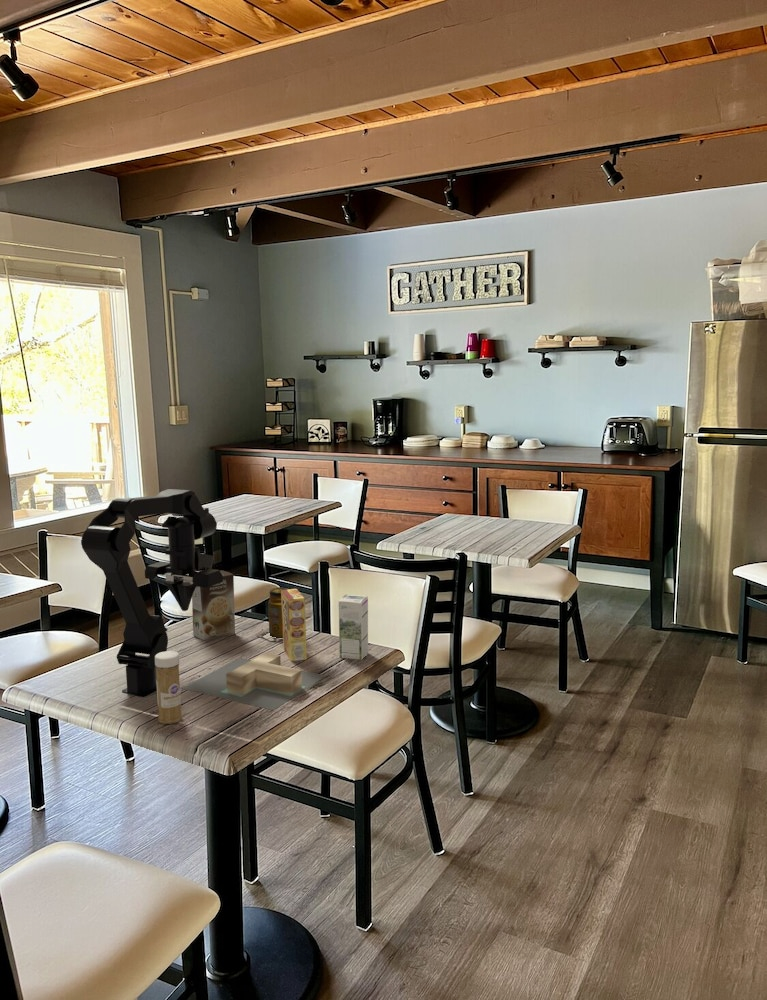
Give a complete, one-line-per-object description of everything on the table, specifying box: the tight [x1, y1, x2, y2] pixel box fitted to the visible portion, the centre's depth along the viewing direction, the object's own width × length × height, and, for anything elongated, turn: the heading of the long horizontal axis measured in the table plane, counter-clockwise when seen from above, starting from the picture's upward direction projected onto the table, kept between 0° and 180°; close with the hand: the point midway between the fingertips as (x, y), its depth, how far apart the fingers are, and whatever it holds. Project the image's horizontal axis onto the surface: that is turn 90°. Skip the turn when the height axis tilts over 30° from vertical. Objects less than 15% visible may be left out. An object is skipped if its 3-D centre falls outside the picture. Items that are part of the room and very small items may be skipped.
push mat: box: [181, 657, 327, 711], centre depth 169 cm, size 20×24×1 cm
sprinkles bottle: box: [155, 650, 183, 725], centre depth 151 cm, size 5×5×13 cm
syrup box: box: [338, 594, 369, 661], centre depth 184 cm, size 6×6×14 cm
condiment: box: [256, 587, 289, 641], centre depth 199 cm, size 7×8×12 cm
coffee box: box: [191, 570, 236, 641], centre depth 200 cm, size 9×6×16 cm
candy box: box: [281, 588, 308, 662], centre depth 185 cm, size 9×4×15 cm, turn 19°
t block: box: [226, 652, 303, 695], centre depth 167 cm, size 14×13×4 cm
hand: (185, 610), depth 179 cm, fingers closed
